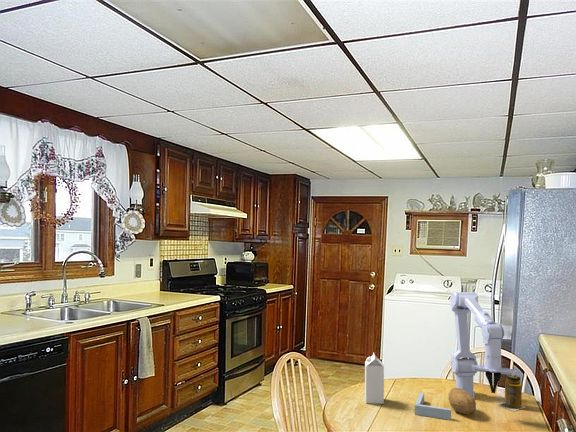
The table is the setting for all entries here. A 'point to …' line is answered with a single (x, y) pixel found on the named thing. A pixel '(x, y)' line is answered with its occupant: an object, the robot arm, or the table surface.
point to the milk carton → (374, 380)
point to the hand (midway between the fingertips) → (493, 392)
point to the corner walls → (431, 409)
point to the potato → (461, 401)
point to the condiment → (513, 393)
